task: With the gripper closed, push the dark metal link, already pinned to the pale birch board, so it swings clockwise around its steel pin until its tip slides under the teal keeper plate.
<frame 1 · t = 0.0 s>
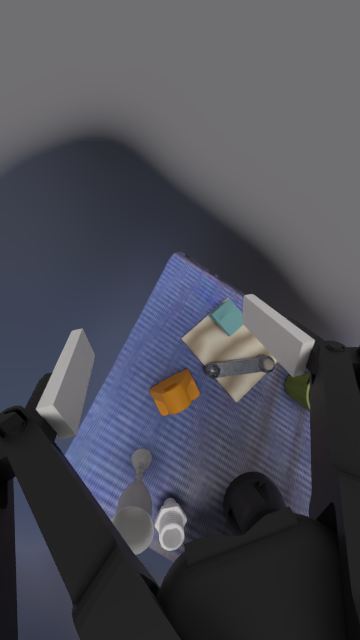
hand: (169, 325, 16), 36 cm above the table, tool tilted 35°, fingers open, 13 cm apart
bracket: (174, 389, 51), on the table
chalice: (141, 458, 48), on the table
keeper: (225, 323, 54), resting on base board
plant pot: (295, 384, 54), on the table
link: (239, 366, 50), point 3 cm above the table, hinge at 55.0°
base board: (230, 348, 53), on the table
pipe fitting: (169, 503, 48), on the table
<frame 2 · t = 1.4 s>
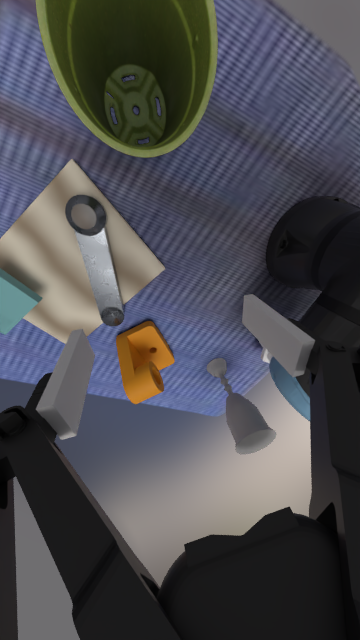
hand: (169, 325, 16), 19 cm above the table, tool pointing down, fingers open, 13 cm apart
bracket: (147, 343, 40), on the table
chalice: (216, 365, 47), on the table
keeper: (27, 280, 29), resting on base board
plant pot: (134, 112, 23), on the table
link: (101, 269, 28), point 3 cm above the table, hinge at 55.0°
base board: (75, 271, 30), on the table
pipe fitting: (264, 338, 46), on the table
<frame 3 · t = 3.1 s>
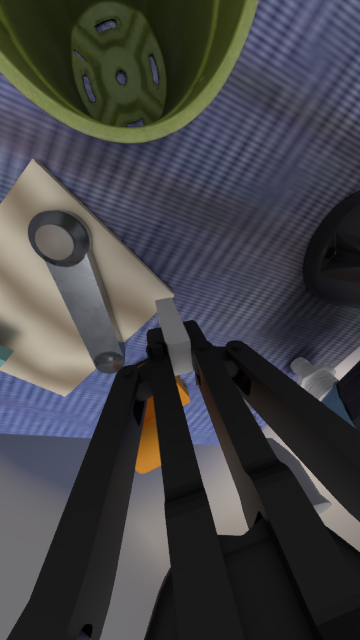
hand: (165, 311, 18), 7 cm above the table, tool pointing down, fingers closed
bracket: (156, 380, 33), on the table
chalice: (239, 396, 40), on the table
plant pot: (119, 82, 15), on the table
link: (90, 305, 21), point 3 cm above the table, hinge at 55.0°
base board: (58, 307, 23), on the table
pipe fitting: (296, 362, 38), on the table
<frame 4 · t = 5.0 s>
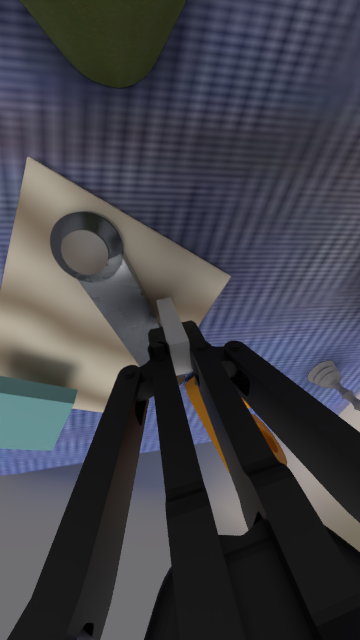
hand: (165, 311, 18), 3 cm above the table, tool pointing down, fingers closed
bracket: (224, 377, 29), on the table
chalice: (320, 371, 34), on the table
keeper: (52, 361, 21), resting on base board
link: (136, 320, 17), point 3 cm above the table, hinge at 50.9°, touching gripper
base board: (105, 328, 20), on the table
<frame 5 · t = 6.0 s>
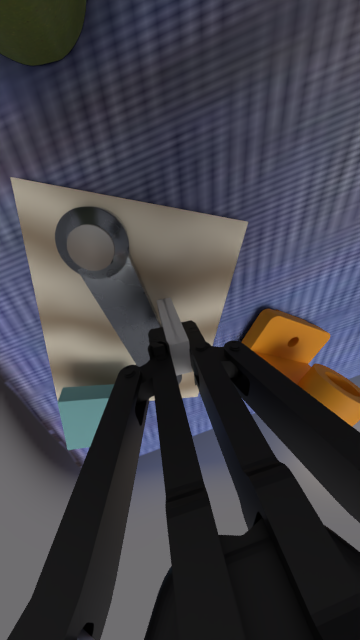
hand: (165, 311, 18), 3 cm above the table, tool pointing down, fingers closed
bracket: (273, 335, 27), on the table
keeper: (105, 365, 23), resting on base board
link: (136, 319, 17), point 3 cm above the table, hinge at 26.5°, touching gripper
base board: (139, 321, 21), on the table
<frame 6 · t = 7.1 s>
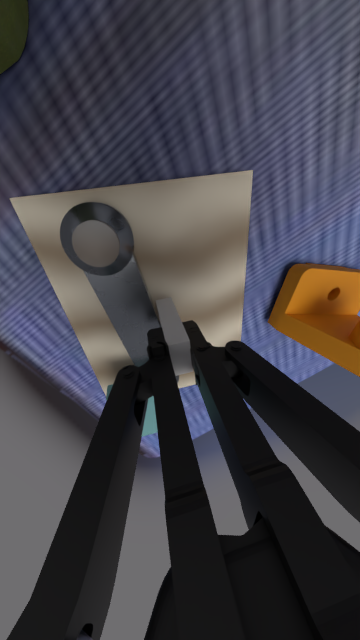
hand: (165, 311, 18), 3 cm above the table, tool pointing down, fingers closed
bracket: (309, 293, 24), on the table
keeper: (141, 359, 23), resting on base board
link: (136, 318, 17), point 3 cm above the table, hinge at 8.0°, touching gripper
base board: (162, 309, 21), on the table
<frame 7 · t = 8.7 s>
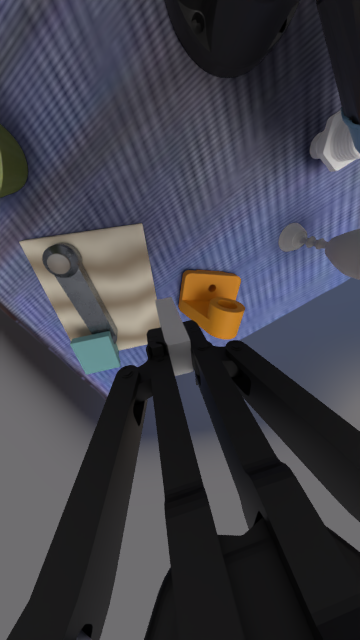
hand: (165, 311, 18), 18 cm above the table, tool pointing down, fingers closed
bracket: (205, 288, 38), on the table
chalice: (290, 237, 37), on the table
keeper: (98, 329, 38), resting on base board
link: (87, 300, 31), point 3 cm above the table, hinge at 7.9°
base board: (107, 297, 35), on the table
pipe fitting: (317, 146, 30), on the table
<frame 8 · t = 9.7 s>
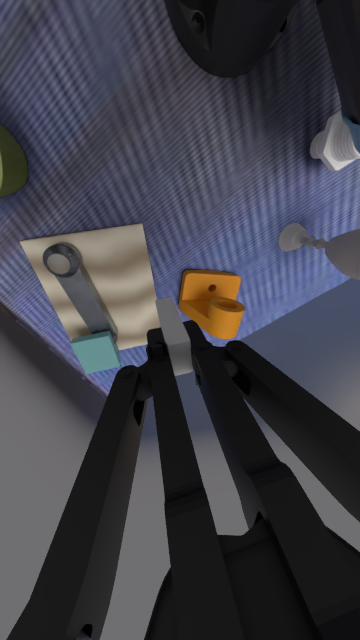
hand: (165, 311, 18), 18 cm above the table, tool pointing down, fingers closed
bracket: (205, 288, 38), on the table
chalice: (290, 237, 37), on the table
keeper: (99, 328, 38), resting on base board
link: (87, 300, 31), point 3 cm above the table, hinge at 7.9°
base board: (107, 297, 35), on the table
pipe fitting: (318, 146, 30), on the table
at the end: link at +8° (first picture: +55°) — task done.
